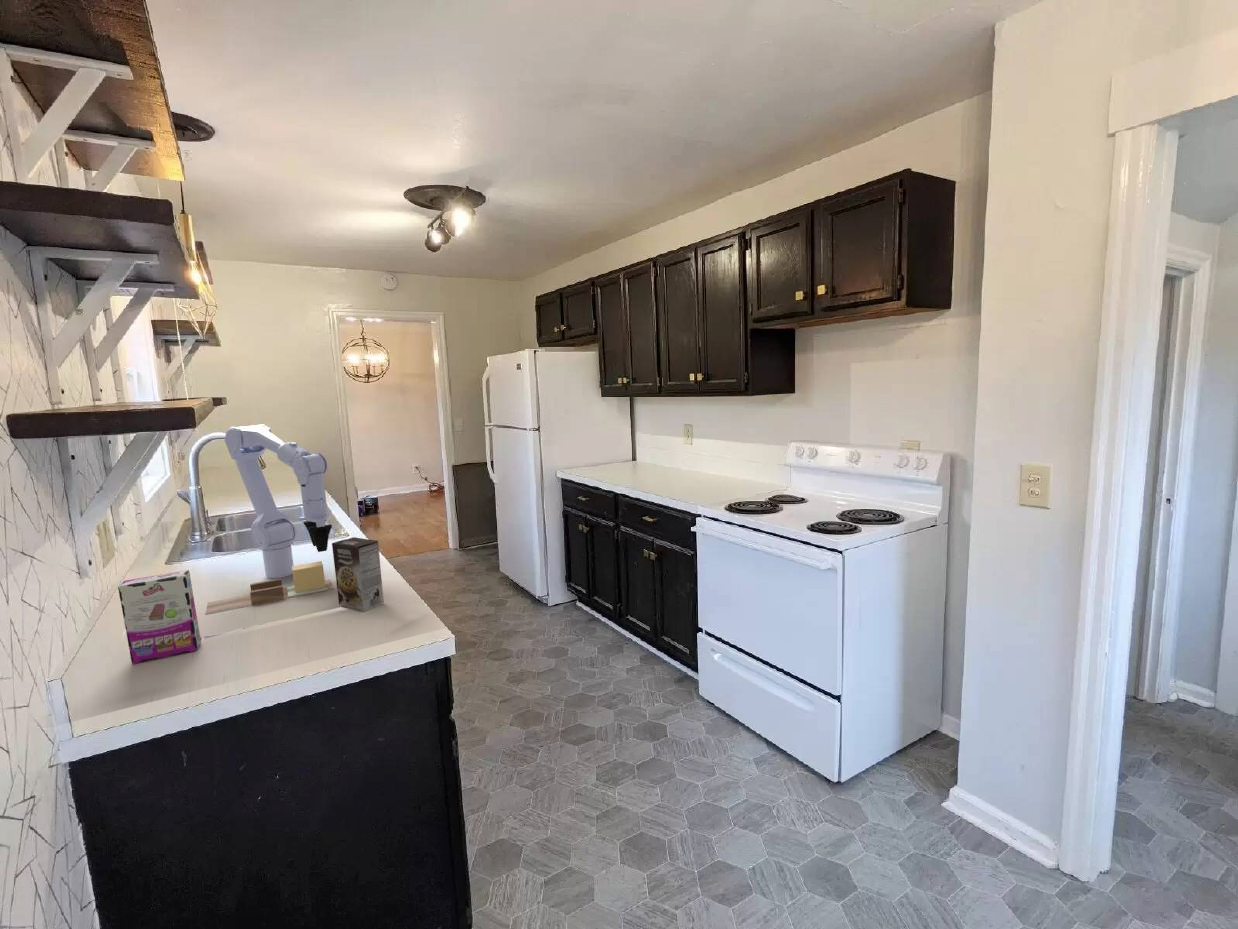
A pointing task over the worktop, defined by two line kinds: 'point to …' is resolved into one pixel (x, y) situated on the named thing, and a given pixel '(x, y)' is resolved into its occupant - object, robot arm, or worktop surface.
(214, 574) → the worktop surface
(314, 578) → the ochre block
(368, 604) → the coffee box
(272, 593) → the pocket board
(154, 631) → the candy bar box
